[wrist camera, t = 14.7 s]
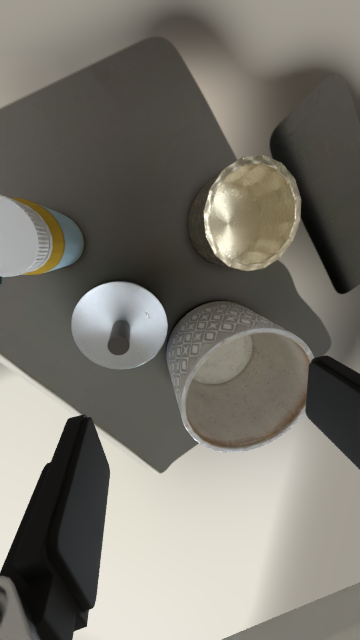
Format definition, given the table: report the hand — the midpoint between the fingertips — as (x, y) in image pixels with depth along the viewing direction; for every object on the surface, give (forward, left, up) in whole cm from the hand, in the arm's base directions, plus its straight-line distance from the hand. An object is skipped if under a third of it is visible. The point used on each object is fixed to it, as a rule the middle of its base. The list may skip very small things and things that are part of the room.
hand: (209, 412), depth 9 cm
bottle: (-9, -12, -28) cm, 32 cm away
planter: (+13, +9, -28) cm, 33 cm away
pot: (-8, +13, -28) cm, 32 cm away
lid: (+4, -6, -24) cm, 25 cm away
